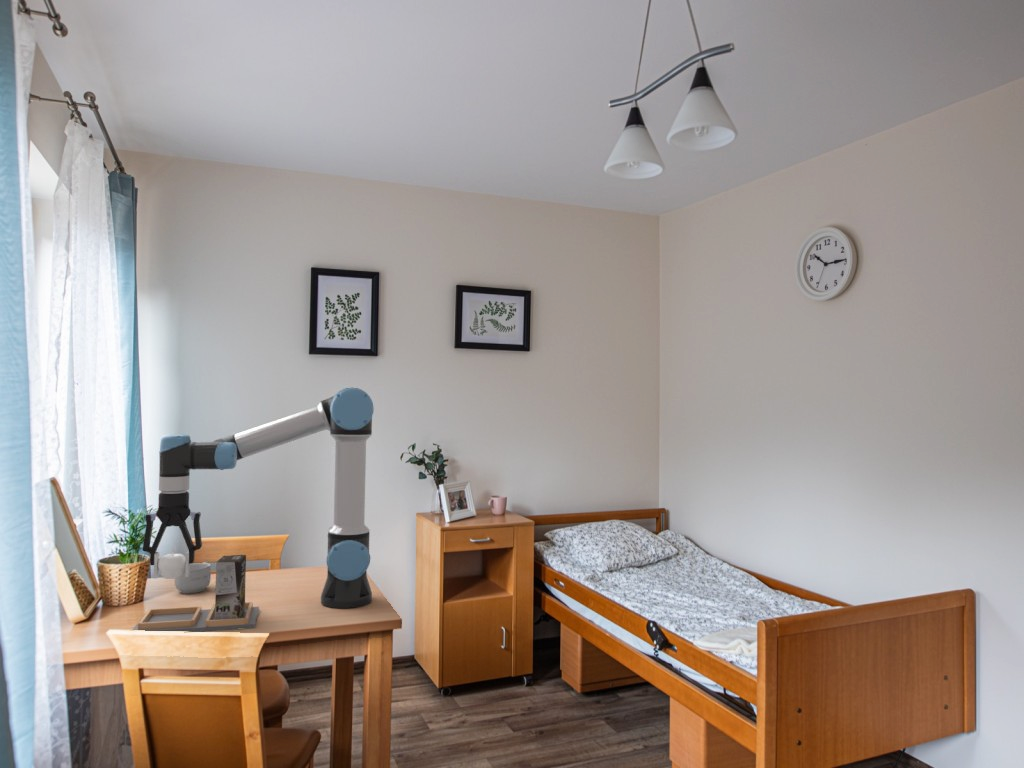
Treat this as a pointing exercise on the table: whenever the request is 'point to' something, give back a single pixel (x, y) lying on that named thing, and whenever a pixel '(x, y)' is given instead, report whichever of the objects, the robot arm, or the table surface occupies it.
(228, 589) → the coffee box
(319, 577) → the table surface
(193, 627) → the plate
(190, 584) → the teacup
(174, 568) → the plain white apple
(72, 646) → the table surface
